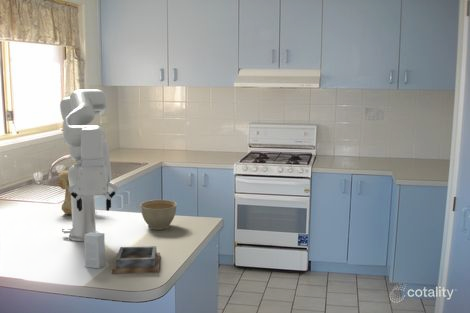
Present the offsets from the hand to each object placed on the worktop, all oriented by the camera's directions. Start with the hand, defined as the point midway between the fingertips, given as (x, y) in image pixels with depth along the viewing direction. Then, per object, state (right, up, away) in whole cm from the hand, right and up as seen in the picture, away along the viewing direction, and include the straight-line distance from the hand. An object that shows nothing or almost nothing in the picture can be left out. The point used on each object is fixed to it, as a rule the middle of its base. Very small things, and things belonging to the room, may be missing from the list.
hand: (94, 210), depth 182 cm
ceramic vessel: (-28, -9, +74) cm, 79 cm away
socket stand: (+15, -20, +5) cm, 25 cm away
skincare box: (0, -21, +3) cm, 21 cm away
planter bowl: (+16, -13, +50) cm, 54 cm away
